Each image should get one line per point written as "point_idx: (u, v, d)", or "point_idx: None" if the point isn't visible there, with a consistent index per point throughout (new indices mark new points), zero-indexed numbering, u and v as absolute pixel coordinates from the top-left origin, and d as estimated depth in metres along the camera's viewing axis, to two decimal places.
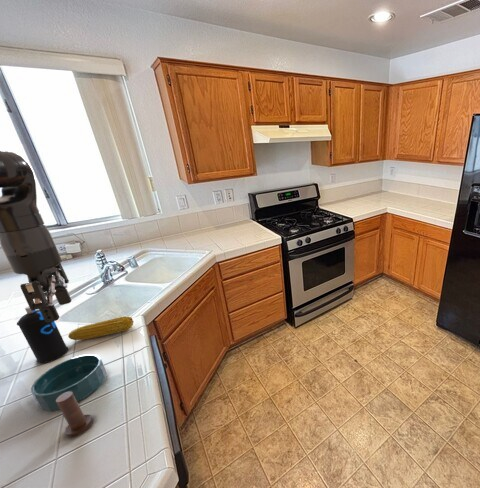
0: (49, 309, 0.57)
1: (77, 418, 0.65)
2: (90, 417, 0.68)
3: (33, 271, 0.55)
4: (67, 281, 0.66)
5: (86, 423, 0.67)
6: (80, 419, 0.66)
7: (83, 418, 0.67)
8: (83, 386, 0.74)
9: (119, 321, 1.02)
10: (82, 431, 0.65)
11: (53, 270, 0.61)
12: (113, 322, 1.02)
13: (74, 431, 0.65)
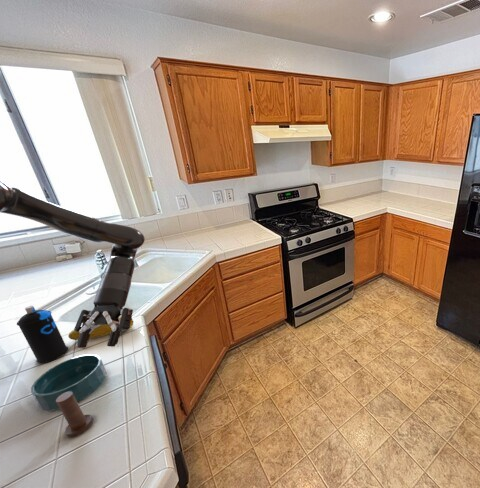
0: None
1: (77, 418, 0.65)
2: (90, 417, 0.68)
3: (122, 303, 0.78)
4: None
5: (86, 423, 0.67)
6: (80, 419, 0.66)
7: (83, 418, 0.67)
8: (83, 386, 0.74)
9: None
10: (82, 431, 0.65)
11: None
12: None
13: (74, 431, 0.65)
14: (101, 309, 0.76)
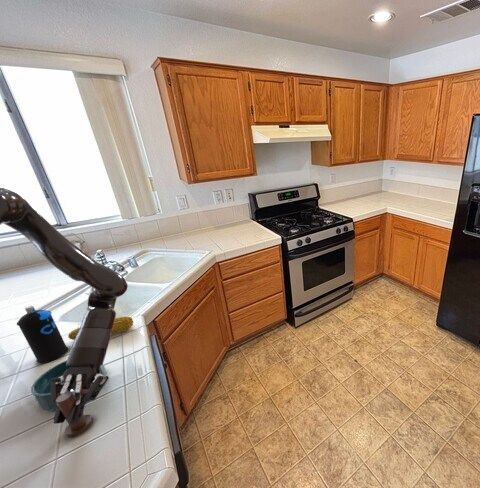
0: None
1: None
2: (90, 417, 0.68)
3: (99, 363, 0.69)
4: None
5: (86, 423, 0.67)
6: (80, 419, 0.66)
7: (83, 418, 0.67)
8: None
9: (119, 321, 1.02)
10: (82, 431, 0.65)
11: None
12: None
13: (74, 431, 0.65)
14: (75, 371, 0.68)
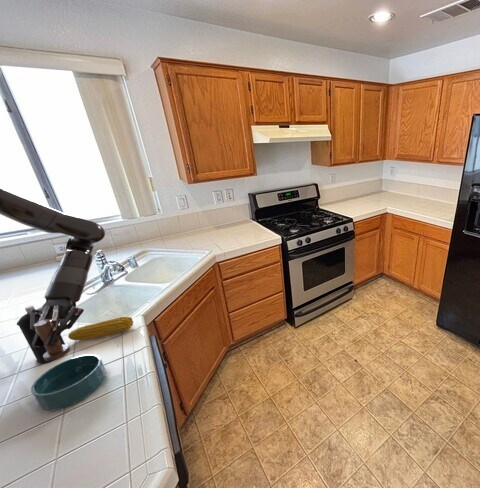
0: None
1: None
2: (67, 346, 0.75)
3: (75, 298, 0.76)
4: None
5: (63, 350, 0.73)
6: (57, 345, 0.72)
7: (60, 345, 0.73)
8: (83, 386, 0.74)
9: (119, 321, 1.02)
10: (59, 356, 0.72)
11: None
12: (113, 322, 1.02)
13: (51, 355, 0.71)
14: (52, 303, 0.74)
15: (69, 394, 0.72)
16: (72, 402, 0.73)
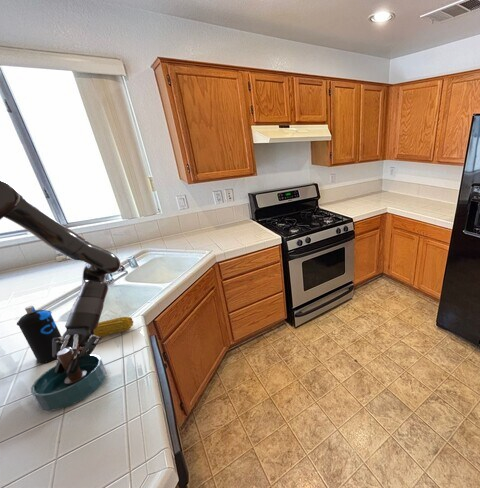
0: None
1: None
2: (85, 371, 0.81)
3: (93, 326, 0.82)
4: None
5: (82, 375, 0.79)
6: (77, 371, 0.78)
7: (79, 371, 0.79)
8: (83, 386, 0.74)
9: (119, 321, 1.02)
10: None
11: None
12: (113, 322, 1.02)
13: (71, 381, 0.77)
14: (72, 332, 0.80)
15: (69, 394, 0.72)
16: (72, 402, 0.73)
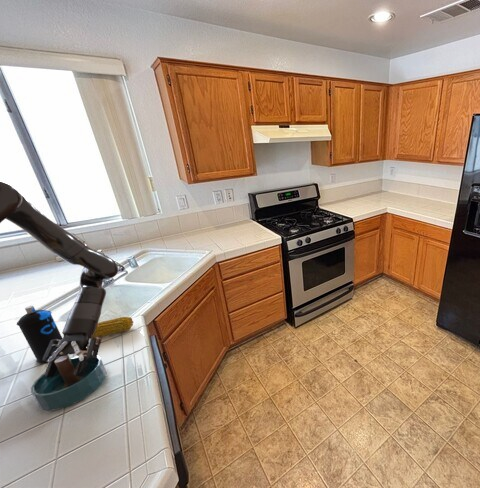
0: None
1: (72, 378, 0.77)
2: None
3: (91, 333, 0.81)
4: None
5: None
6: (75, 379, 0.78)
7: (77, 378, 0.78)
8: (83, 386, 0.74)
9: (119, 321, 1.02)
10: None
11: None
12: (113, 322, 1.02)
13: None
14: (70, 338, 0.79)
15: (69, 394, 0.72)
16: (72, 402, 0.73)
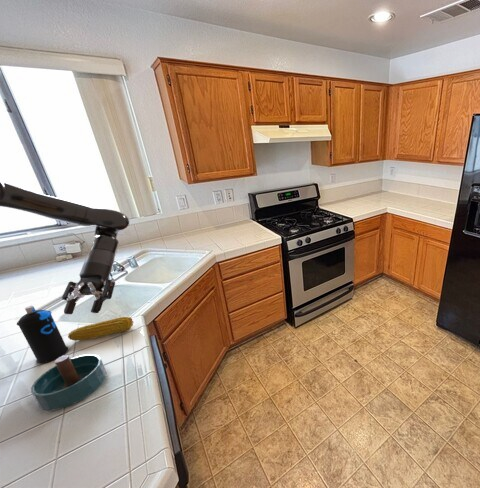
0: None
1: (72, 378, 0.77)
2: None
3: (105, 276, 0.87)
4: None
5: None
6: (75, 379, 0.78)
7: (77, 378, 0.78)
8: (83, 386, 0.74)
9: (119, 321, 1.02)
10: None
11: None
12: (113, 322, 1.02)
13: None
14: (86, 281, 0.85)
15: (69, 394, 0.72)
16: (72, 402, 0.73)
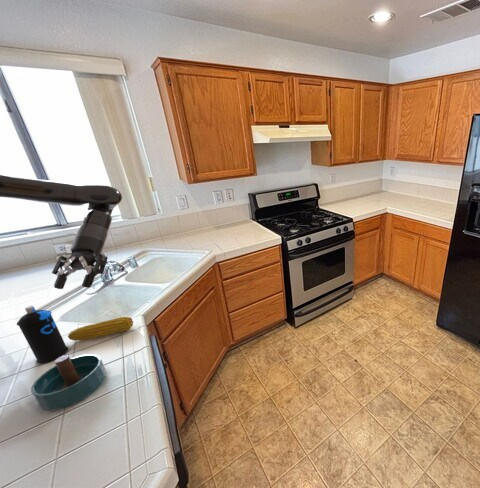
0: None
1: (72, 378, 0.77)
2: None
3: (98, 251, 0.85)
4: None
5: None
6: (75, 379, 0.78)
7: (77, 378, 0.78)
8: (83, 386, 0.74)
9: (119, 321, 1.02)
10: None
11: None
12: (113, 322, 1.01)
13: None
14: (77, 255, 0.83)
15: (69, 394, 0.72)
16: (72, 402, 0.73)
